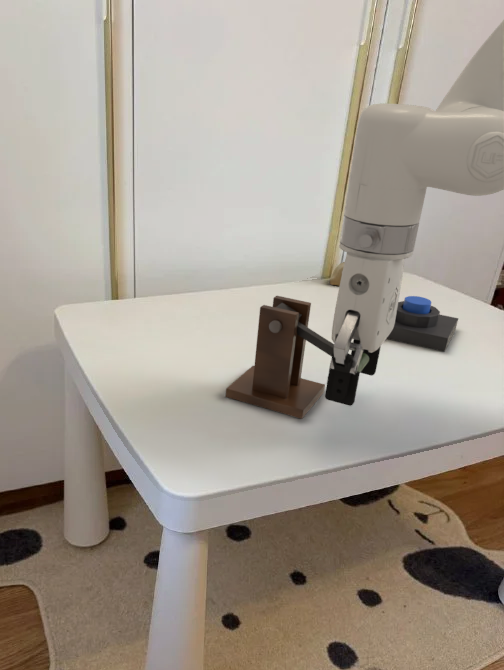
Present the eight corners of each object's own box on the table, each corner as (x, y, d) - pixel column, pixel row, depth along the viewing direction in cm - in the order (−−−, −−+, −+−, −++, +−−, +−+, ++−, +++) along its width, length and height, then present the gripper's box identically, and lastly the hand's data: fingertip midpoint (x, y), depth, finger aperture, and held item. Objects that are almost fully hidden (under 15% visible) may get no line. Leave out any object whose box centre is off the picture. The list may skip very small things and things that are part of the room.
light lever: (363, 369, 75) (373, 353, 73) (351, 385, 71) (361, 369, 69) (278, 315, 77) (286, 298, 76) (261, 327, 73) (270, 310, 72)
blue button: (431, 309, 99) (433, 299, 98) (426, 317, 96) (428, 306, 95) (405, 304, 101) (407, 294, 100) (399, 311, 98) (402, 301, 97)
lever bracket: (324, 392, 80) (338, 304, 74) (301, 419, 74) (315, 324, 68) (252, 373, 84) (260, 287, 78) (225, 396, 78) (232, 305, 72)
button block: (455, 331, 102) (461, 307, 100) (444, 351, 94) (450, 326, 92) (381, 315, 106) (385, 292, 104) (365, 334, 98) (369, 309, 97)
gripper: (394, 261, 57) (362, 427, 65) (431, 226, 71) (400, 367, 79) (315, 247, 60) (293, 408, 68) (365, 216, 74) (342, 353, 82)
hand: (351, 385), depth 73 cm, fingers open, 8 cm apart
